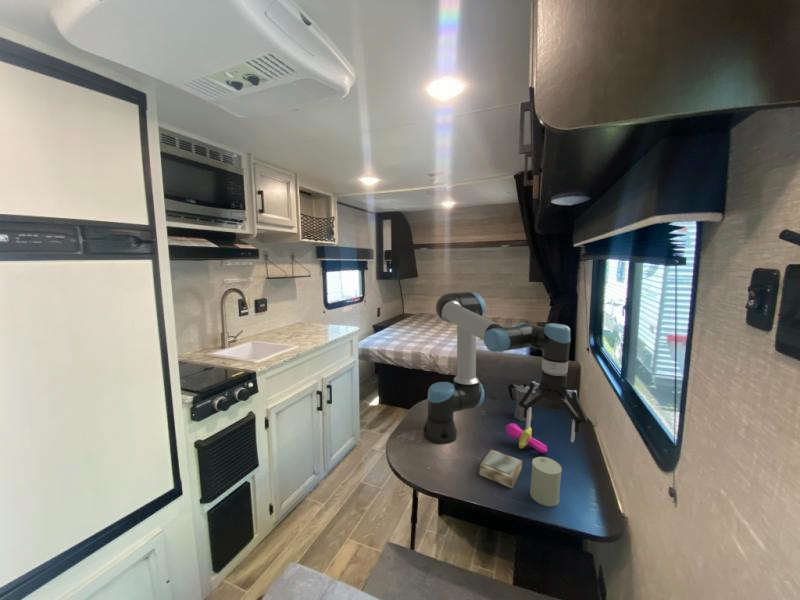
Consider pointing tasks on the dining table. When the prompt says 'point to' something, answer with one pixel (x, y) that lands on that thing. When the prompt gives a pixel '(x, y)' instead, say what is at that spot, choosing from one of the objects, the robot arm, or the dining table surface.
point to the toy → (525, 437)
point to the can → (545, 481)
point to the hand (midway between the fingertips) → (549, 433)
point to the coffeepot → (519, 395)
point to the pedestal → (501, 468)
